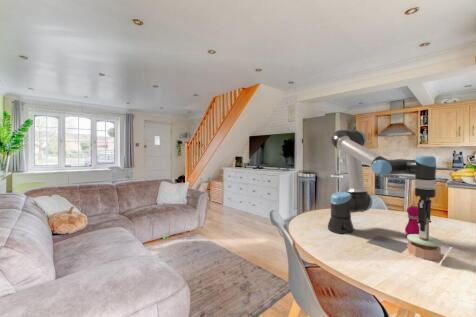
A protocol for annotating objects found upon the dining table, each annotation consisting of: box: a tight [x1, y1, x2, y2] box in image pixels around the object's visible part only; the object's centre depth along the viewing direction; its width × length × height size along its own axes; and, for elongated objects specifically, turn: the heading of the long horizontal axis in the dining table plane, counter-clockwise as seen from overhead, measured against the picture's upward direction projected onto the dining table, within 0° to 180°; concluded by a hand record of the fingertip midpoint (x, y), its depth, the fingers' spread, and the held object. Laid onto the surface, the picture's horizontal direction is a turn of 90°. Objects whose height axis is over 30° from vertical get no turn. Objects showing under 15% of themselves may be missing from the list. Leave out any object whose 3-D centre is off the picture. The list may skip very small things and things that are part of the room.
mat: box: [366, 234, 407, 254], centre depth 120 cm, size 16×16×1 cm
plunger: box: [406, 218, 443, 247], centre depth 107 cm, size 13×13×11 cm
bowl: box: [406, 240, 442, 261], centre depth 107 cm, size 12×12×5 cm
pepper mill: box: [404, 203, 419, 238], centre depth 126 cm, size 7×7×20 cm
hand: (423, 236), depth 107 cm, fingers closed on plunger, 3 cm apart
